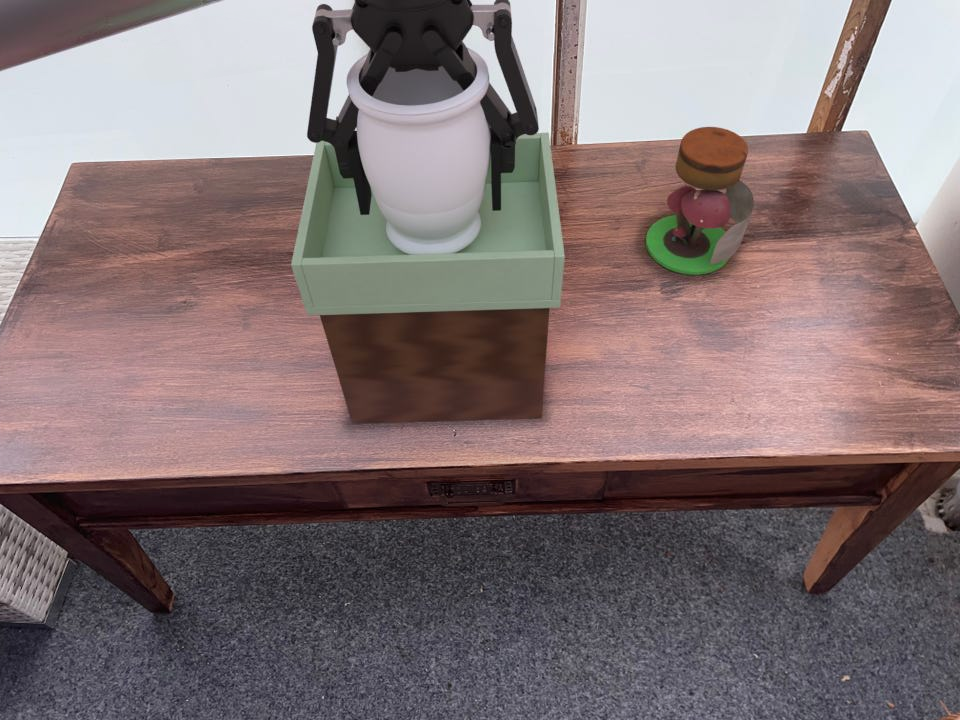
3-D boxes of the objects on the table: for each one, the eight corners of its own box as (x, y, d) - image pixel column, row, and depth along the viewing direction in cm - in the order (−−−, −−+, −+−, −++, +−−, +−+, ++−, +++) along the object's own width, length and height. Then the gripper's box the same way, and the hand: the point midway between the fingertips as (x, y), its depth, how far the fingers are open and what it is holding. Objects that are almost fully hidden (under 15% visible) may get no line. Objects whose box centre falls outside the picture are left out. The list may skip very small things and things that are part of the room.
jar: (385, 279, 61) (357, 123, 49) (366, 203, 67) (337, 49, 56) (506, 254, 63) (506, 98, 51) (476, 182, 69) (470, 28, 57)
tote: (545, 184, 72) (548, 132, 67) (560, 308, 61) (564, 256, 57) (328, 191, 72) (316, 139, 67) (307, 315, 62) (290, 264, 57)
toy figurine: (643, 281, 88) (664, 181, 76) (640, 213, 96) (659, 113, 84) (742, 287, 87) (780, 186, 75) (731, 218, 95) (764, 117, 83)
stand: (532, 312, 85) (538, 190, 71) (541, 418, 76) (550, 301, 62) (363, 317, 86) (336, 196, 71) (352, 424, 76) (317, 308, 62)
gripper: (580, -105, 48) (560, 171, 65) (232, -92, 48) (304, 179, 65) (593, -56, 43) (568, 227, 60) (207, -43, 43) (292, 236, 61)
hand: (431, 202), depth 63 cm, fingers closed on jar, 11 cm apart
